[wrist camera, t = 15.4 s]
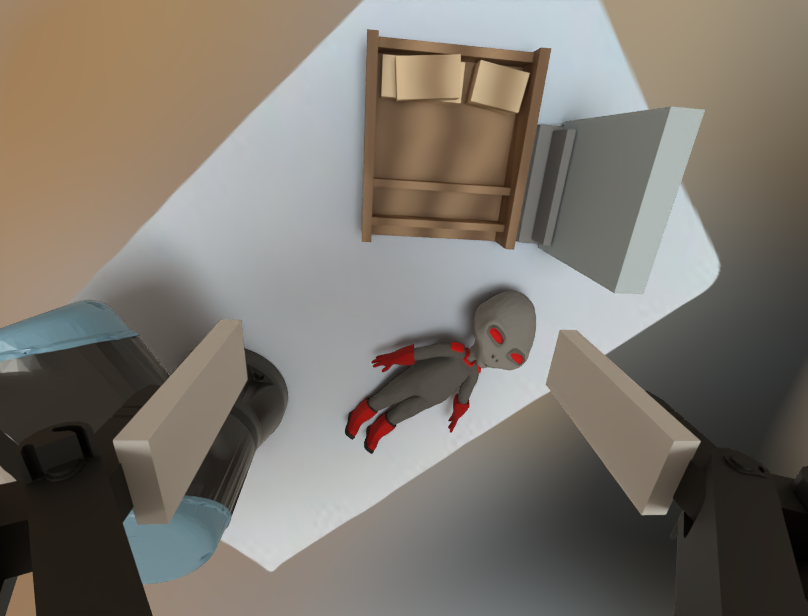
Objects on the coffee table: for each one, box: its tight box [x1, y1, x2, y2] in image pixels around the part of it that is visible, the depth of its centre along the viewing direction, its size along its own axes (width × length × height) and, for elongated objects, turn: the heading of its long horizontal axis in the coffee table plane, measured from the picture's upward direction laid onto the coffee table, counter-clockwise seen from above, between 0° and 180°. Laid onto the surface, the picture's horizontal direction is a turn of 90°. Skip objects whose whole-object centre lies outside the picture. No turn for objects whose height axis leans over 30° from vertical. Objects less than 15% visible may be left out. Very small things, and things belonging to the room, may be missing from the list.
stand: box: [516, 125, 576, 246], centre depth 43 cm, size 13×8×4 cm, turn 176°
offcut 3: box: [464, 60, 530, 115], centre depth 38 cm, size 5×4×3 cm
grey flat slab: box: [538, 107, 705, 294], centre depth 37 cm, size 14×3×16 cm, turn 176°
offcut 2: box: [395, 54, 461, 102], centre depth 36 cm, size 6×4×2 cm, turn 92°
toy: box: [345, 291, 536, 454], centre depth 51 cm, size 16×10×30 cm
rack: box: [362, 29, 551, 249], centre depth 40 cm, size 17×19×5 cm
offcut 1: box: [381, 54, 465, 105], centre depth 38 cm, size 8×4×2 cm, turn 86°
